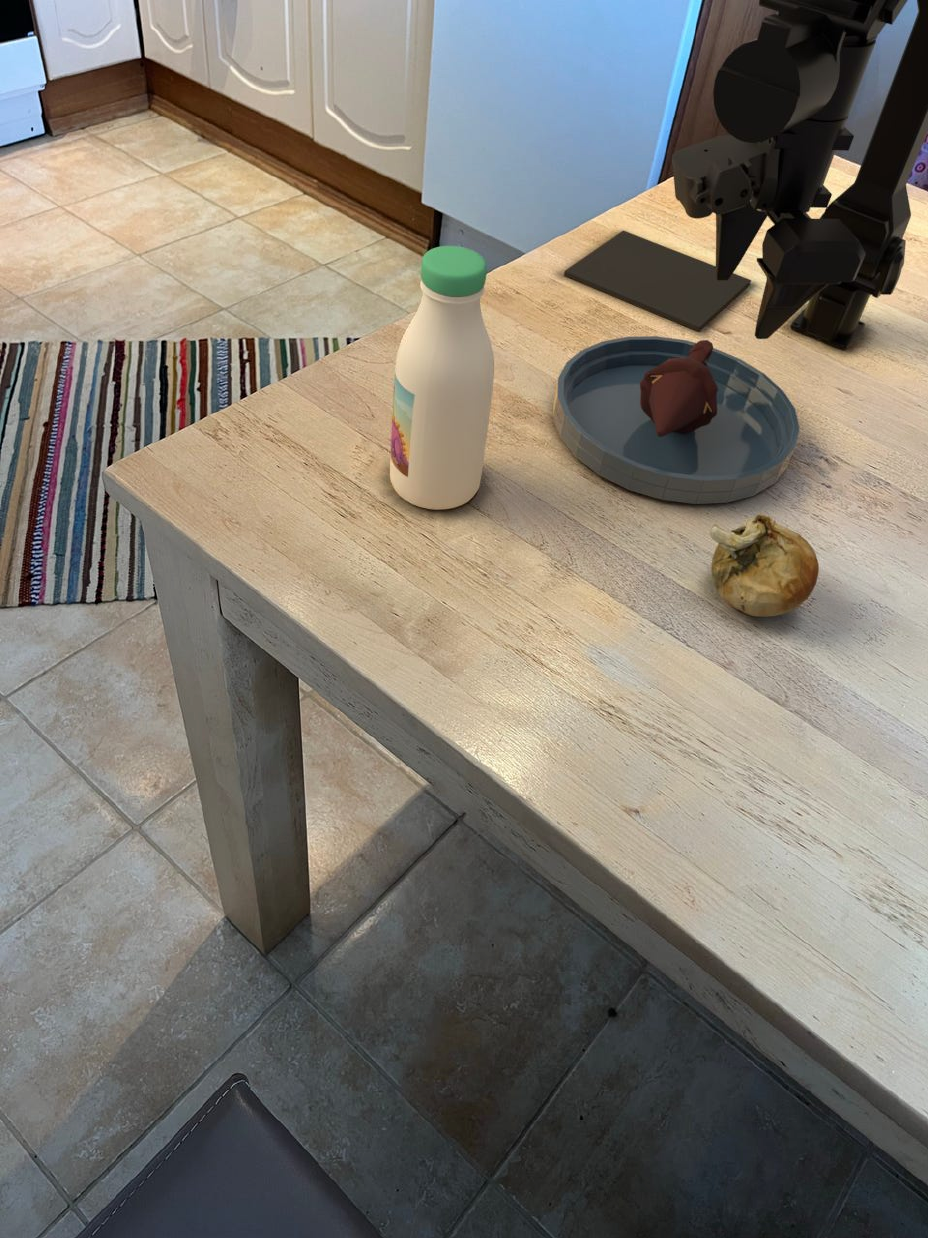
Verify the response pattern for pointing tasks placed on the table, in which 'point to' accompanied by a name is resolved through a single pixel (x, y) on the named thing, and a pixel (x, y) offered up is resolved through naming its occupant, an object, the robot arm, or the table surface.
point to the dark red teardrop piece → (681, 392)
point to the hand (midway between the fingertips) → (740, 307)
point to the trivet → (658, 279)
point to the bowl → (675, 463)
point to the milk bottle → (443, 385)
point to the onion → (763, 567)
